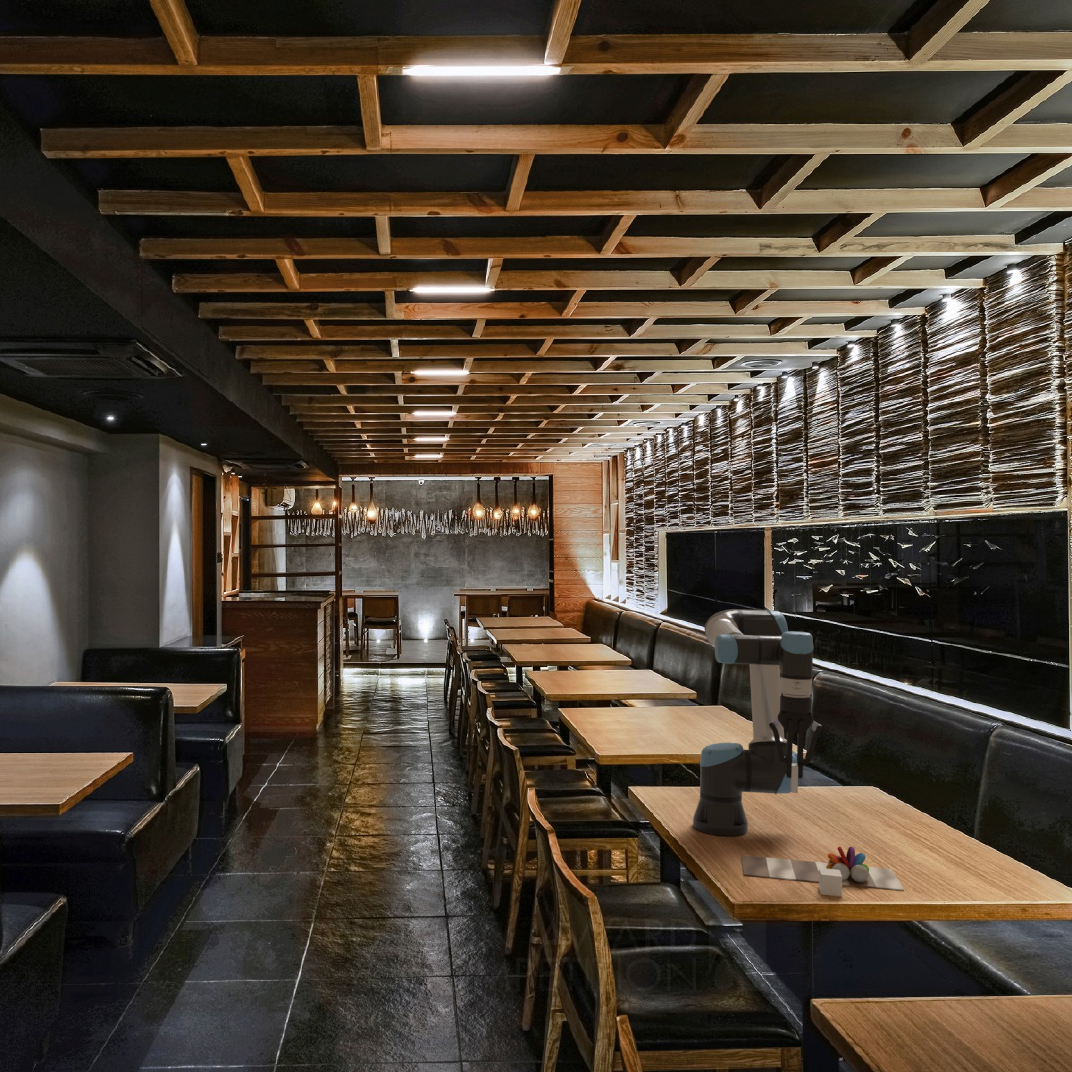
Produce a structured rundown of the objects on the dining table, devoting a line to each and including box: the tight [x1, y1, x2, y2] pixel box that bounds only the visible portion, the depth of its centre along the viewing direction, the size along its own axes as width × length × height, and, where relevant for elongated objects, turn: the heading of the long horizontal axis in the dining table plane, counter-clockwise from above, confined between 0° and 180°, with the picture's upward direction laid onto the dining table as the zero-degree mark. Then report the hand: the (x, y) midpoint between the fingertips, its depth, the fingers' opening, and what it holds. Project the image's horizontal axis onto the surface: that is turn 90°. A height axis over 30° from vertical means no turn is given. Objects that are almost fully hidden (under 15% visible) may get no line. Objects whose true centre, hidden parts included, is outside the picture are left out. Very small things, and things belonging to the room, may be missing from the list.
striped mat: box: [741, 854, 905, 892], centre depth 207 cm, size 36×14×1 cm, turn 79°
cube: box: [818, 868, 843, 897], centre depth 195 cm, size 4×4×4 cm
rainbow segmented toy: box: [826, 846, 870, 882], centre depth 204 cm, size 8×10×7 cm
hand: (793, 791), depth 209 cm, fingers closed
